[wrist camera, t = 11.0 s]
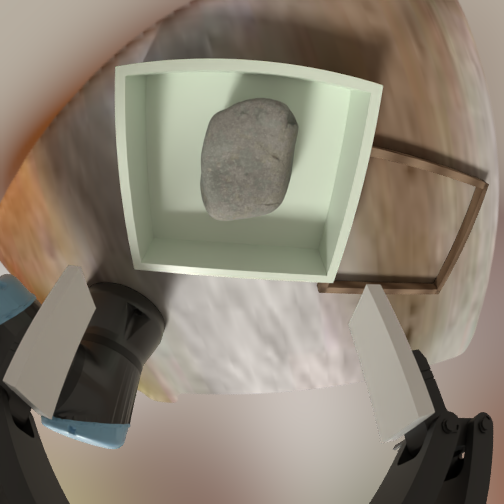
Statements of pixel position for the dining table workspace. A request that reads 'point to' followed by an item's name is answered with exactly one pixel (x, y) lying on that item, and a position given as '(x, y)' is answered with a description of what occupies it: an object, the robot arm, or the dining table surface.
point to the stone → (247, 159)
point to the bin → (189, 167)
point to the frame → (456, 249)
